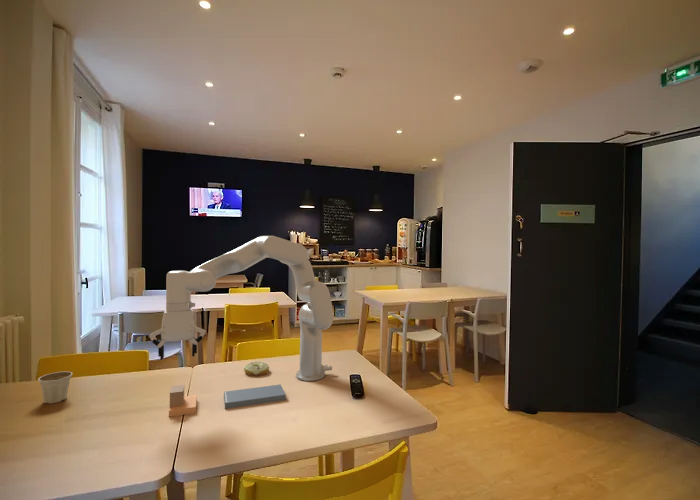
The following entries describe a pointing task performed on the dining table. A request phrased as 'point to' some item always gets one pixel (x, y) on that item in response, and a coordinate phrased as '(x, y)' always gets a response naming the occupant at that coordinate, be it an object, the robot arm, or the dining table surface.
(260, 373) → the decorated donut
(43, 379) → the flower pot
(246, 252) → the robot arm
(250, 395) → the board
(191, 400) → the stub
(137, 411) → the dining table surface
